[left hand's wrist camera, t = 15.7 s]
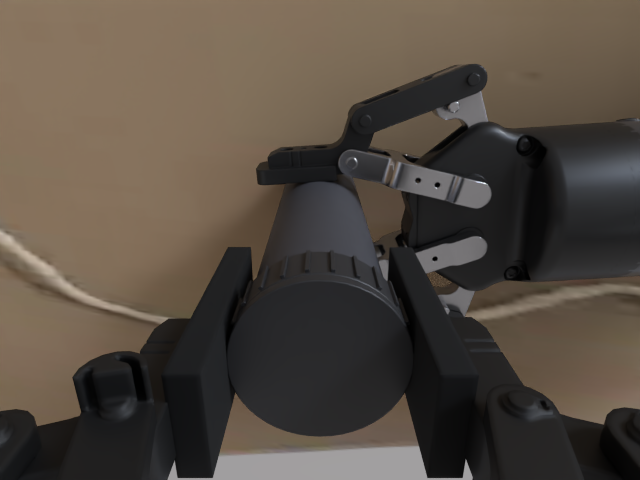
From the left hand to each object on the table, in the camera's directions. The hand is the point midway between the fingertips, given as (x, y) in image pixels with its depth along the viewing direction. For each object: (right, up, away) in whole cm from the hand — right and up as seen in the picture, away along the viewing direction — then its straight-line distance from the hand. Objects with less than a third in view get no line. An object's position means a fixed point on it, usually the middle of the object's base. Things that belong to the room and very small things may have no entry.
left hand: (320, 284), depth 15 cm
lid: (0, -1, -4) cm, 4 cm away
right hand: (-3, +2, +7) cm, 8 cm away
